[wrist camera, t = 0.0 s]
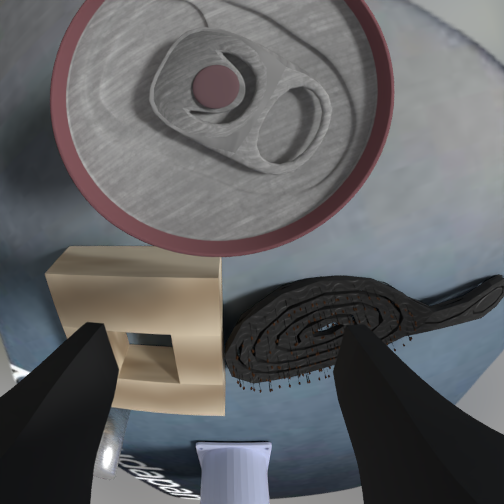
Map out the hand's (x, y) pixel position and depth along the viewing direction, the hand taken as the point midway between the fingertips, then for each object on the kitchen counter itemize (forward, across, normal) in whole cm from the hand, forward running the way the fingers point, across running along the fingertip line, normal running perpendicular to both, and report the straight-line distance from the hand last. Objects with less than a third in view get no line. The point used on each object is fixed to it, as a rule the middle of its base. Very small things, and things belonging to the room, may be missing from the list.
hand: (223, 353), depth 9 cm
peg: (+10, +11, +18) cm, 23 cm away
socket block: (+10, +6, +8) cm, 14 cm away
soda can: (+10, 0, -7) cm, 12 cm away
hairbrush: (+11, -12, +7) cm, 18 cm away
